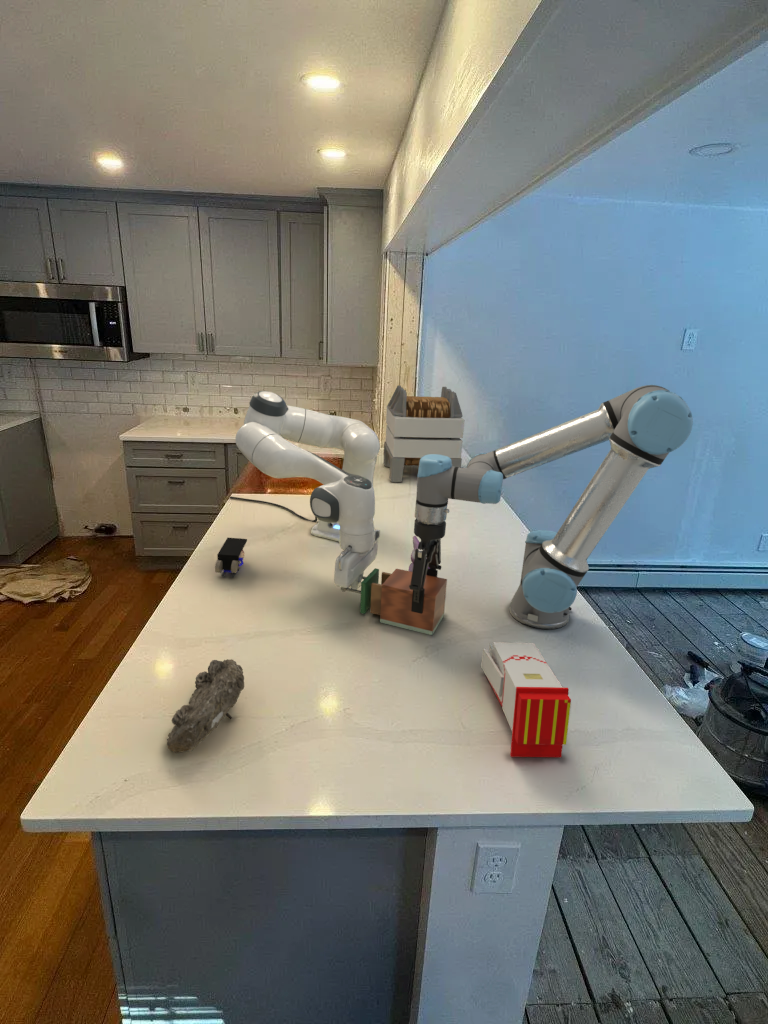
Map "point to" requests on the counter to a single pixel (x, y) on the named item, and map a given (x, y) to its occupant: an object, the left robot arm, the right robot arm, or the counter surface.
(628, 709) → the counter surface
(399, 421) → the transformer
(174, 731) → the fossil
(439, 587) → the cabinet
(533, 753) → the toy
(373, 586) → the drawer
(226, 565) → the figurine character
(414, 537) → the figurine
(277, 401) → the left robot arm
